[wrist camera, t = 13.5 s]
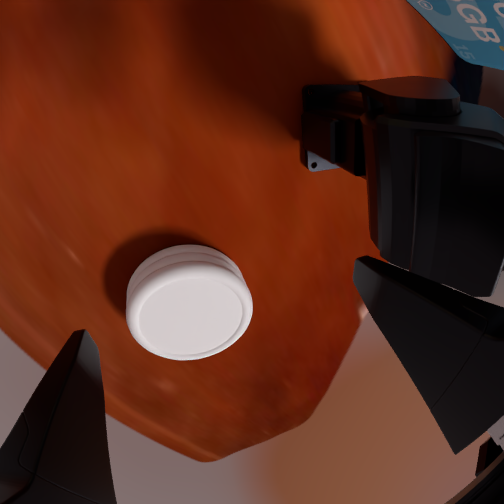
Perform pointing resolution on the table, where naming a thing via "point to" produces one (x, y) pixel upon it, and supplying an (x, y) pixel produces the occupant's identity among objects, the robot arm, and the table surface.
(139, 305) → the coaster
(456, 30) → the data package
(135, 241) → the table surface
